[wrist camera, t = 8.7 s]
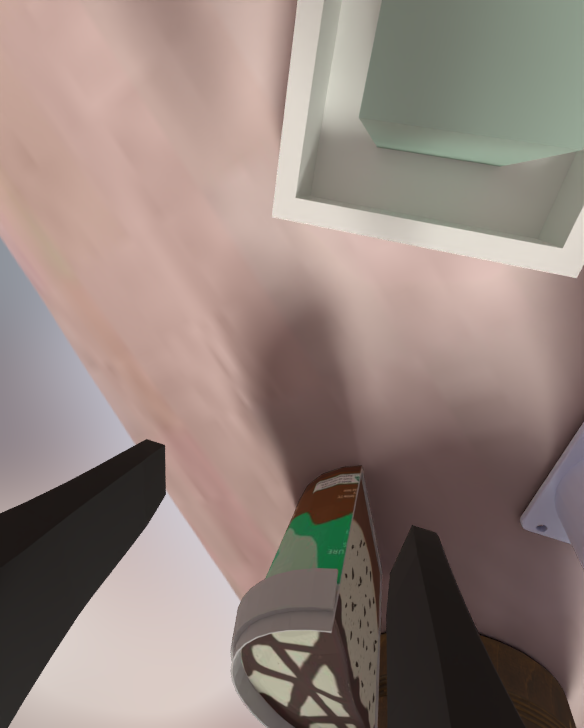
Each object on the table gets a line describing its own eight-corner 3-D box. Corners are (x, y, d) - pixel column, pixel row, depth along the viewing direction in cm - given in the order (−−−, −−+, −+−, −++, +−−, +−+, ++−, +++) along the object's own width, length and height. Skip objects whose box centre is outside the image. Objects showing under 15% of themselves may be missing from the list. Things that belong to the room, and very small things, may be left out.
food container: (262, 447, 23) (180, 601, 15) (358, 445, 21) (328, 622, 13) (303, 579, 28) (258, 755, 19) (385, 587, 26) (377, 788, 17)
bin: (722, -127, 10) (861, -262, 7) (541, 259, 15) (576, 278, 12) (346, -139, 12) (327, -251, 9) (295, 211, 17) (271, 216, 14)
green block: (561, 1, 11) (750, -218, 5) (499, 166, 13) (582, 149, 7) (412, -12, 12) (424, -218, 6) (377, 147, 14) (358, 117, 8)
